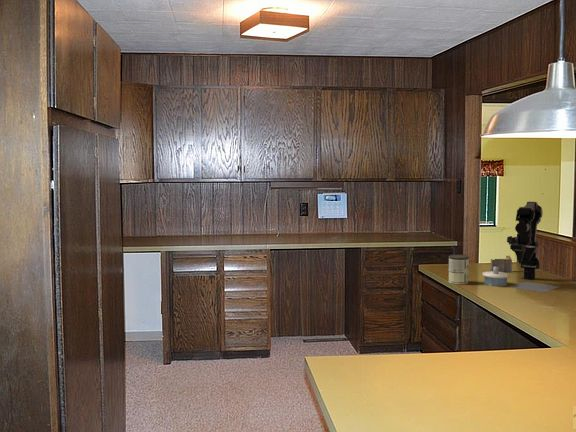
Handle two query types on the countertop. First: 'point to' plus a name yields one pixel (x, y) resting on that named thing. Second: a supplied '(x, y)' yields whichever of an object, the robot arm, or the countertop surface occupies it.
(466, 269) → the coffee can
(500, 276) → the lid
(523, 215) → the robot arm
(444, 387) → the countertop surface
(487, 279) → the bowl
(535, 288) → the mat
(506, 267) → the architectural model on board
